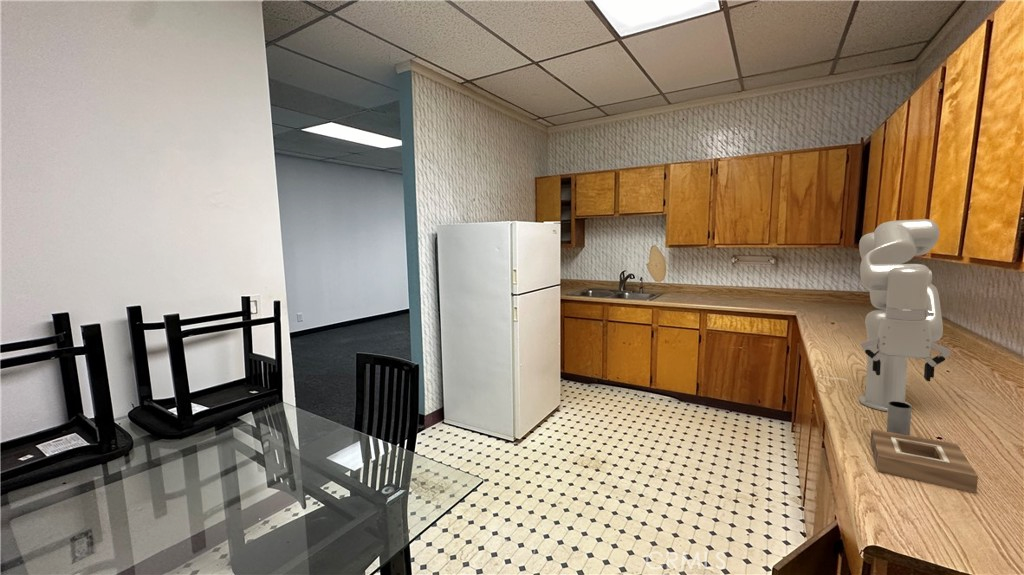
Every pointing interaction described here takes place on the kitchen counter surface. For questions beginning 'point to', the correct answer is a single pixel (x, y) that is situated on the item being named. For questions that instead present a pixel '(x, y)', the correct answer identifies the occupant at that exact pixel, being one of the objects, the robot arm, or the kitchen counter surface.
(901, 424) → the grey hollow tube
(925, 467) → the brown flat square frame
